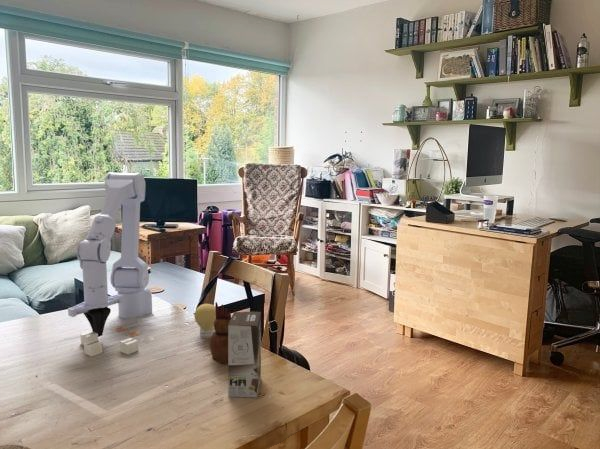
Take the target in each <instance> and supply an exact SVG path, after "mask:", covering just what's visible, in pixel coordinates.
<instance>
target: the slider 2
mask: <svg viewBox="0 0 600 449" xmlns="http://www.w3.org/2000/svg"><path fill="white" fill-rule="evenodd" d="M119 343H120V344H119V346H120V352H121V353H123V354H126V355H130V354H133V353H135V352H137V351H139V340H137V339H135V338H133V337H129V338H127V339H123V340H121V341H119Z"/></svg>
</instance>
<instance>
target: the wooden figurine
mask: <svg viewBox="0 0 600 449" xmlns="http://www.w3.org/2000/svg"><path fill="white" fill-rule="evenodd" d="M214 304H215V305H214V306H215V307H216V319H215V321H214V326H213V328H214V332H213V334H212V335H211V337H210V338H209V348H210V353H211V356H212V358H213V360H214V361H215V362H216V363H219V364H228V324H229V322H230V320H231V318H232V313H231V311H229V312H228V309H227V308H225V310H224V304H221V307H220V309H219V305H218V301H215V303H214Z"/></svg>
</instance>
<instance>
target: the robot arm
mask: <svg viewBox="0 0 600 449" xmlns="http://www.w3.org/2000/svg"><path fill="white" fill-rule="evenodd" d="M104 178H105V179H104V189H105V192H106V193H105V194H106V195H105V197H104V201H103V204H102V208H101V213H100V215H99V214H98V215H97V216H95V217H94V219H93V221H92V224H91V226H90V228H89V230H88V234H87V236H86V237H85V239H84V240H81V241H80V242H79V244H78V246H77V250H76V258H77V259H78V261H79V267H80V269H81V270H82V281H83V282H82V283H83V297H84V298H83V300H84V301H83V302H81V303H78V304H76V305H74V306H71V307H68V308H67V312H68V313H67V314H68V316H69V317H72V318H75V317H77V316H78V315H81V314H83V315H84V316H85V318H86V319H87V321H88V323H89V325H90V327H91V331H93V332H95V333H98V338H99V337H102V336H103V334H104V329H105V326H106V323H107V319H108V317H109V316H110V313H111V311H112V310H111V308H110V307H109V306H112V305H115V304H118V305H117V306H118V317H119V318H122V319H137V318H140V317H142V316H144V315H148V316H155V314H154V313H153V295H152V291H151V289H150V288H149V287H148V285H149V280H150V279H149V278H150V274H149V269H148V263H146V261H144V260H143V259H141V258H140V257H139V251H140V250H139V246H140V245H139V244H140V218H141V215H140V214H141V203H143V202H144V201H145V200H146V198H145V197H146V180H145V177H144V175H143V174H142V173H141V172H135V173H134V172H113V171H109V172H107V175H106V176H105V177H104ZM121 206H122V210H121V212H122V213H121V214H122V216H121V217H122V218H121V244H120V245H121V246H120V248H121V249H120V257H119V259H117V260H116V261H114V263H113V264H112V270H111V272H110V278H109V280H110V284H111V287H112V288H113V289H114V290H115V292H117V294H114V295H109V293H108V292H109V291H108V290H109V289H108V273H107V272H108V271H107V270H108V269H107V262H108V261H109V258H110V256H111V248H112V247H111V246H112V242H111V240H112V237H113V235H114V232H115V229H116V227H117V223H116V221H115V220H114V219H115V218H116V216H117V214H118V211H119V210H120V209H121V208H120V207H121Z"/></svg>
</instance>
